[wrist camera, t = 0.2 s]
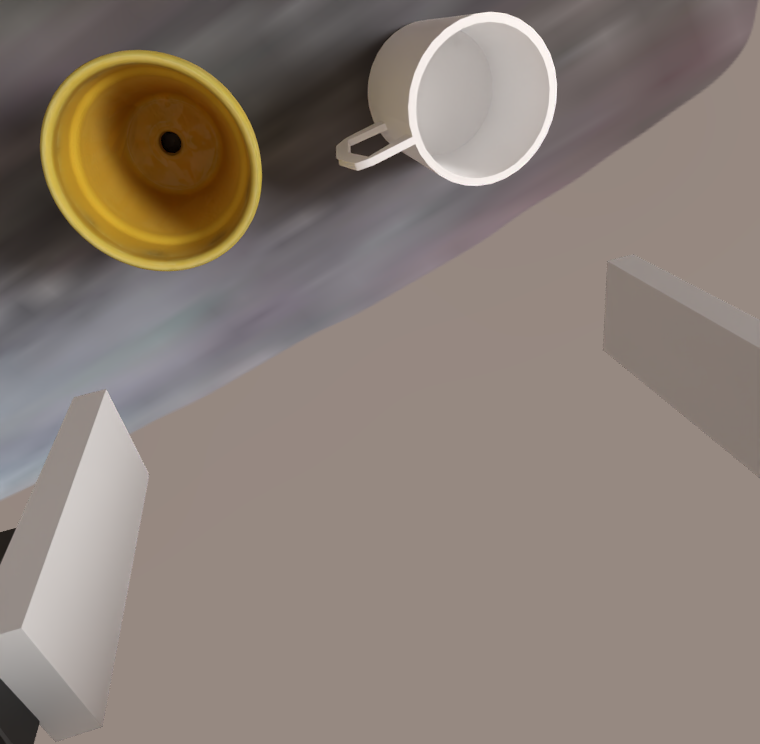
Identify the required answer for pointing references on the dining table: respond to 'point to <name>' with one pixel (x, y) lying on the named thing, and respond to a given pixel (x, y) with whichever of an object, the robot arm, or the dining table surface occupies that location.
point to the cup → (460, 97)
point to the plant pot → (151, 160)
